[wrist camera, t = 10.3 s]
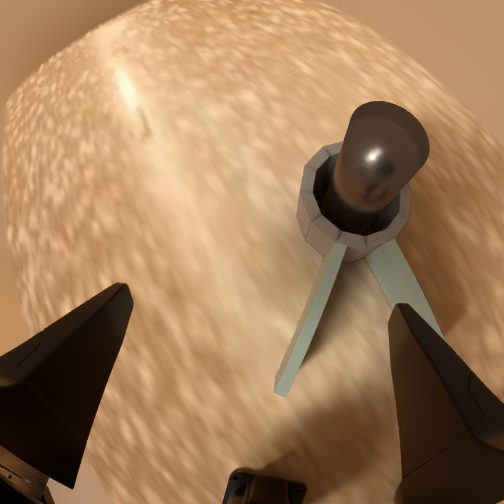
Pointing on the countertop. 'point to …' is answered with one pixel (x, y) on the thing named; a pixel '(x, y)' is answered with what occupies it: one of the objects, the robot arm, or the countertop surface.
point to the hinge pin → (373, 164)
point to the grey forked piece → (348, 259)
